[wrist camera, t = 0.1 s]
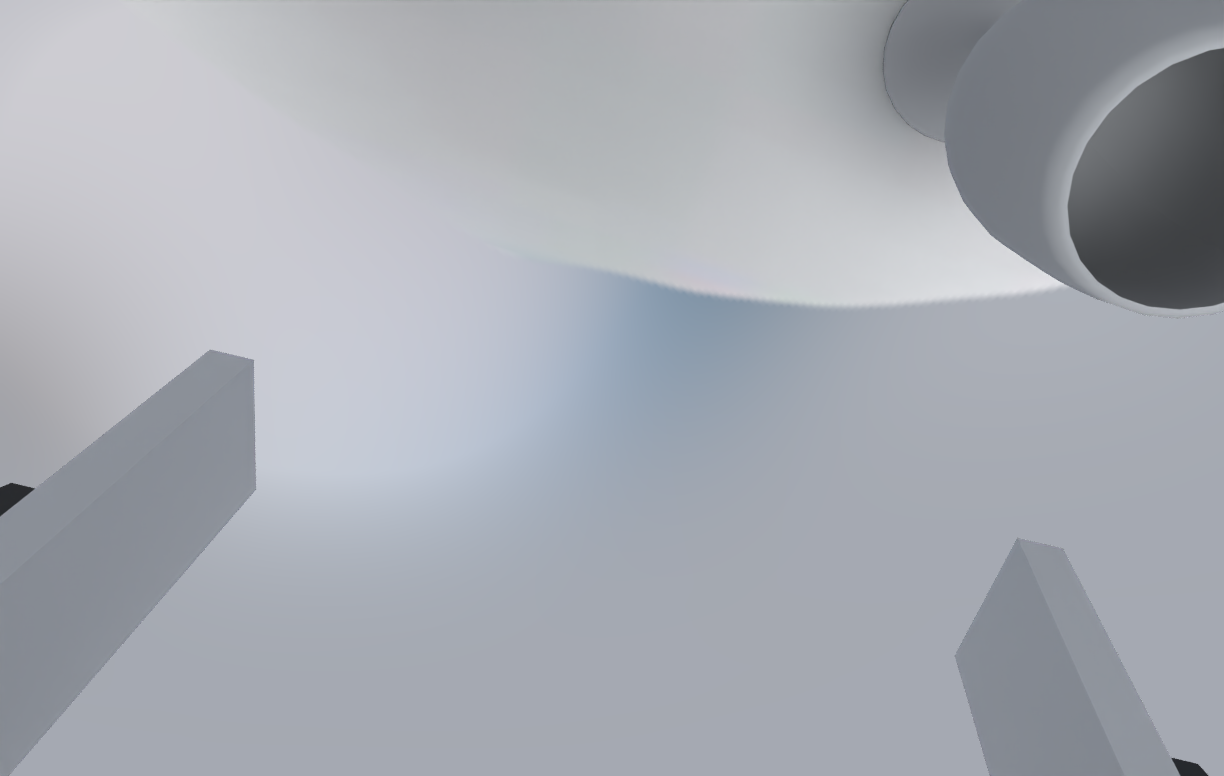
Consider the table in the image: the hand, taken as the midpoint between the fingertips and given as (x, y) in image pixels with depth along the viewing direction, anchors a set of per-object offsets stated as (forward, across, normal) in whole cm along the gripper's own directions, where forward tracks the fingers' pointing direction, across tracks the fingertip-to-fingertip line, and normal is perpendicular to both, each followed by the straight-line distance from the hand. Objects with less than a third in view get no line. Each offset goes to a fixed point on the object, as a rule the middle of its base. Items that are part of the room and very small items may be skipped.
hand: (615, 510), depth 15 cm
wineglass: (+28, +10, +6) cm, 31 cm away
